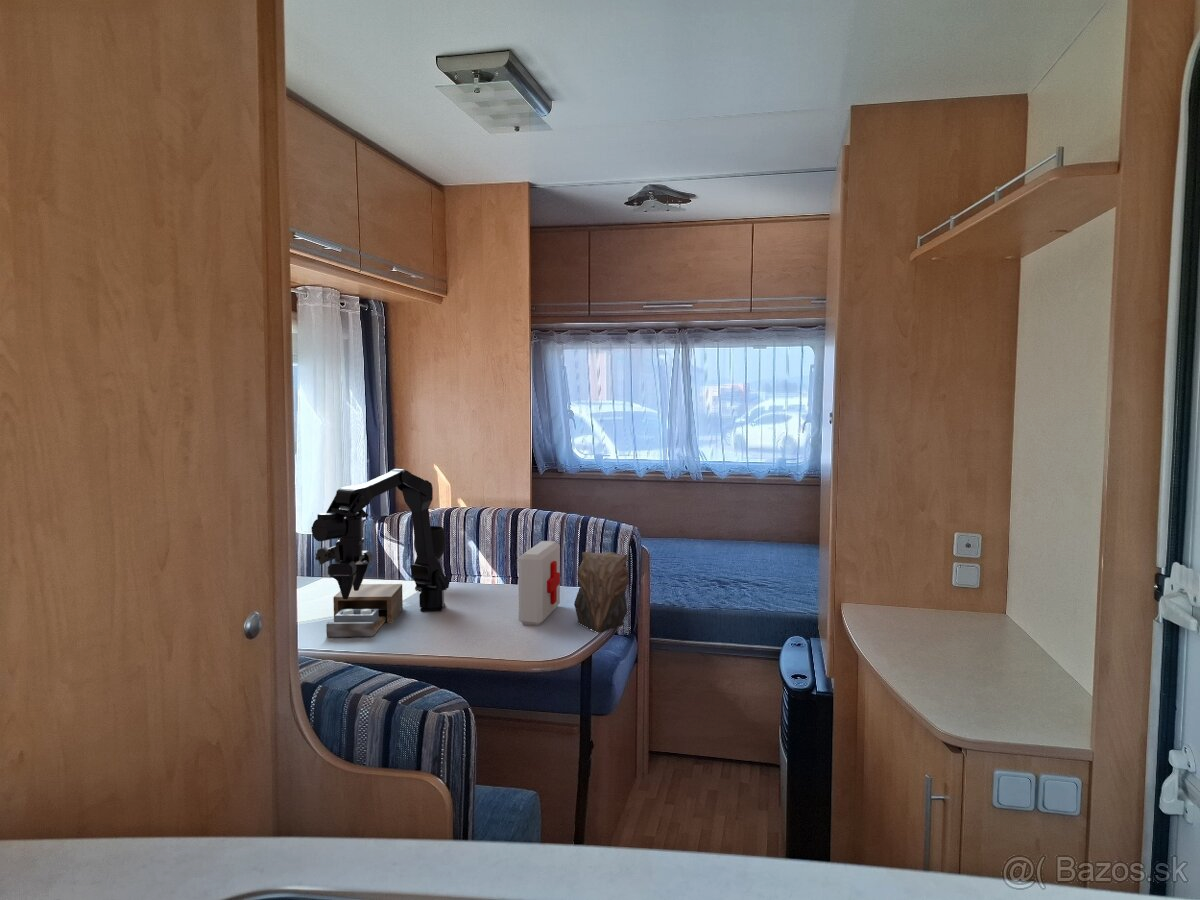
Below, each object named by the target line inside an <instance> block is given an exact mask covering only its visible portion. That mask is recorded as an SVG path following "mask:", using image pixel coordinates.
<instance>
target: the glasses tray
mask: <svg viewBox="0 0 1200 900" xmlns="http://www.w3.org/2000/svg"><path fill="white" fill-rule="evenodd" d="M379 617H380V616H379V610H378V609H342V610H340V611H339V612H338V613H337V614H336V615H335V622H374V626H375V625H376V624H377V623H378V621H379Z"/></svg>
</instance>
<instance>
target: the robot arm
mask: <svg viewBox="0 0 1200 900" xmlns="http://www.w3.org/2000/svg"><path fill="white" fill-rule="evenodd" d="M395 488H396V489H397V490H398V491H400V492H401V493H402V496H403V499H404V503H405V505H407V507H408V508H409V510H410V511H411V512H410V513H411V519H412V520H411V521H412V526H413V527H412V529H413V536H414V537H415V545H416V551H415V553H416V558H415V560H414V562H413V563H411V564H410V569H411V577H410V578H412V579H413V581H414V583H415V587H417V588H422V589H421V591H420V593H419V594H418V595H419V596H418V597H419V611H421V612H424V611H425V612H428V611H429V612H433V611H434V612H435V611H439V612H441V611H443V610H444V608H445V607H446V603H445V591H446V590H447V589H449V587H450V580H449V579H448V577H447V576H446V575H445V574H444V573H443V572H444V571H443V569H442V564H441V562H440V560H439V559H437V558H436V557H435V555H434V550H433V542H432V533H431V526H432V525H431V518H430V517H431V516H430V509H429V508H430V506H431V504H432V501H433V497H434V496H433V491H434V489H433V484H432V483H431V482H430V481H429V480H427V479H424V478H422V477H420V476H418V475H415V474H412V472H410V471H408V470H407V469H402V468H393V469H391V470H390V471H388V472H386V473H385V474H382V475H380V476H377V477H376V478H373V479H371V480H369V481H367V482H364V483H361V484H355V485H348V486H343V487H342V486H341V487H340V488H338V489H337V490H336V493H335V495H334V497H333V499H332V501H331V503H330V505H329V507H328V509H327V510H326V512H325V513H318V514H317V519H315V520H314V521H313V523H312V526H311V533H312V537H313V538H314V539H315V541H318V542H325V541H330V540H337V539H338V540H337V541H336V542H335V545H333V546H331V547H328V548H326V547H325V546H323V547H321V548H318V549H317V550H316V553H315V554H314V555H315V558H314V559H315V561H318V563H319V565H320V566H321V565H323V564H325V563H327V562H330V561H333V560H334V561H333V562H332V563H330V564H329V565H328V567H327V575H328V576H330V577H331V578H333V579H334V580H336V582H337V583H338V587H339V592H340V591H341V594H342V597H343V599H348V597H349V594H350V591H351V588H352V585H353V587H354V591H358V590H359V588H360V586H361V584H362V583H363V581H364V578H365V576H366V574H367V571H368V569H369V567H370V565H371V562H372V561H373V553H372V552H371V551H370V550H363V543H365V538H364V537H363V518H368V517H369V513H368V512H366V511H365V510H364V509H365V508H366V507H367V506H368V505H369V504H371V502H372V500H373V499H374V498H376V497H378V496H381V495H382V494H385V493H386V492H388V491H391V490H393V489H395Z"/></svg>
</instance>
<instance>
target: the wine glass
mask: <svg viewBox="0 0 1200 900" xmlns="http://www.w3.org/2000/svg"><path fill="white" fill-rule="evenodd" d="M431 533H432V542H433V550H434V555H435V557H436V558H437V559H438V560H439V559H440V558H442V556H443V555H444V553H445V551H446V548H447V536H446V532H445V529H444V527H443V526H439V525H438V526H437V525H431ZM413 548H414V551H415V552H416V545H415V537H414V538H413ZM414 589H416V590H415V591H417V590H418V591H417V592H421V589H422V588H417V587H416V586H415V587H414Z"/></svg>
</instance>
